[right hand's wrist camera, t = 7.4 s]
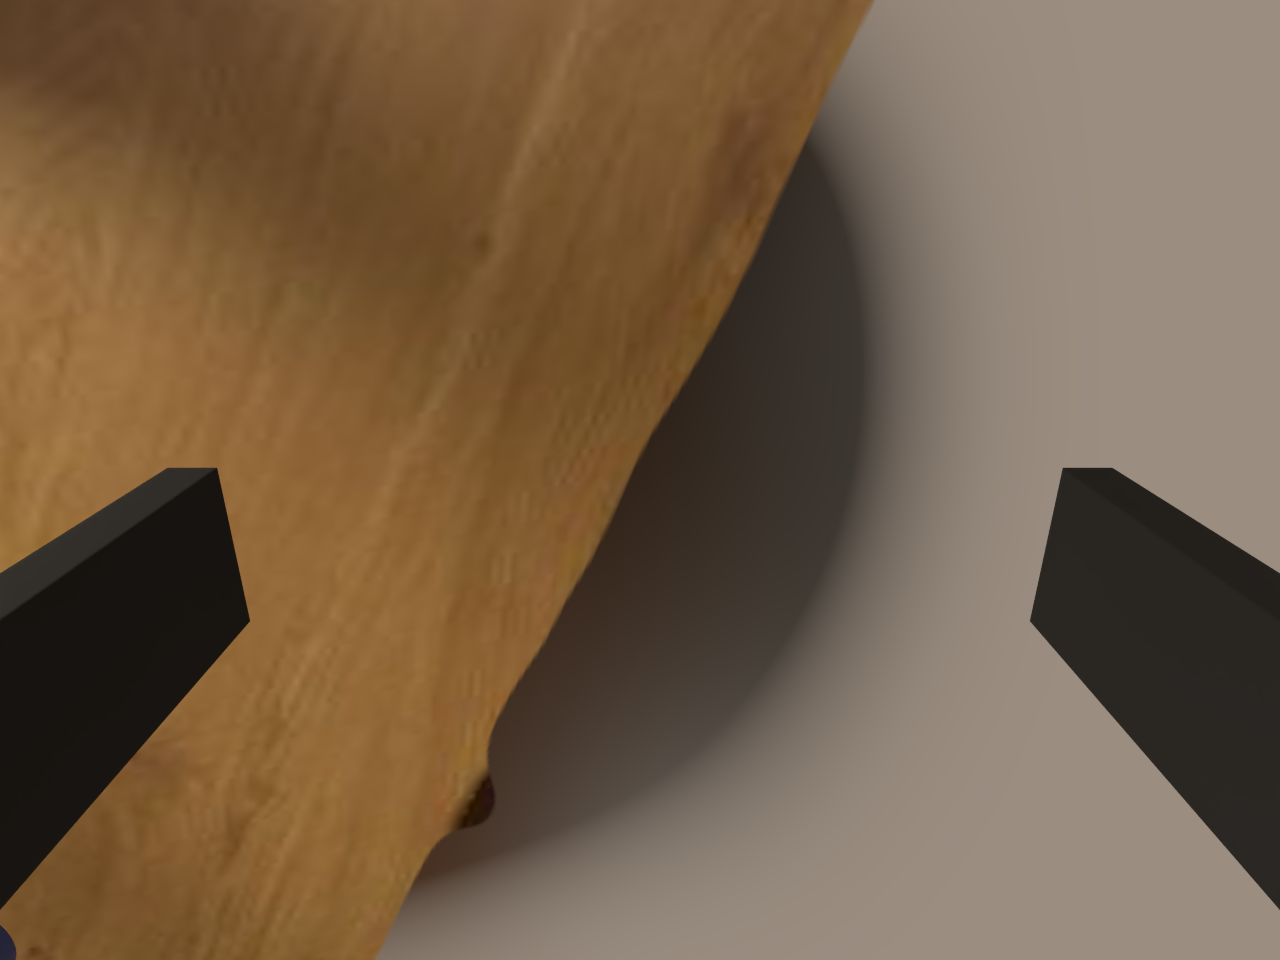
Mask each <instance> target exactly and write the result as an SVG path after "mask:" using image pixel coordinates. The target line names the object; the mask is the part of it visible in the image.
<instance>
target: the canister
mask: <svg viewBox="0 0 1280 960" xmlns="http://www.w3.org/2000/svg"><path fill="white" fill-rule="evenodd" d="M15 959H16V948H15V945H14V942H13V940H12V938H11V937H10V935H9V934H8V933H7V932H6V930H5V929H4V928H3V927H2V926H0V960H15Z"/></svg>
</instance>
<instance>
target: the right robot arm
mask: <svg viewBox="0 0 1280 960" xmlns="http://www.w3.org/2000/svg"><path fill="white" fill-rule="evenodd" d="M249 622H250V619H249V614H248V609H247V605H246V600H245V595H244V591H243V586H242V581H241V577H240V572H239V568H238V563H237V558H236V554H235V549H234V544H233V540H232V535H231V530H230V526H229V521H228V516H227V512H226V507H225V502H224V498H223V493H222V489H221V484H220V479H219V475H218V470H217V468H167V469H165V470H164V471H162V472H160V473H159V474H157V475H156V476H154V477H152V478H151V479H149V480H148V481H146V482H145V483H143V484H141V485H140V486H138V487H137V488H135V489H133V490H132V491H130V492H129V493H127V494H125V495H124V496H122V497H121V498H119V499H118V500H116V501H114V502H113V503H111V504H110V505H108V506H106V507H105V508H103V509H102V510H100V511H98V512H97V513H95V514H94V515H92V516H91V517H89V518H87V519H86V520H84V521H83V522H81V523H79V524H78V525H76V526H75V527H73V528H71V529H70V530H68V531H67V532H65V533H64V534H62V535H60V536H59V537H57V538H56V539H54V540H52V541H51V542H49V543H48V544H46V545H45V546H43V547H41V548H40V549H38V550H37V551H35V552H33V553H32V554H30V555H29V556H27V557H25V558H24V559H22V560H21V561H19V562H18V563H16V564H14V565H13V566H11V567H10V568H8V569H6V570H5V571H3V572H2V573H0V909H1V908H2V907H3V906H4V905H5V904H6V902H7V901H8V900H9V899H10V898H11V897H12V896H13V894H14V893H15V892H16V891H17V890H18V889H19V887H20V886H21V885H22V884H23V883H24V882H25V881H26V879H27V878H28V877H29V876H30V875H31V874H32V872H33V871H34V870H35V869H36V868H37V867H38V865H39V864H40V863H41V862H42V861H43V860H44V859H45V857H46V856H47V855H48V854H49V853H50V852H51V850H52V849H53V848H54V847H55V846H56V845H57V844H58V842H59V841H60V840H61V839H62V838H63V837H64V835H65V834H66V833H67V832H68V831H69V830H70V829H71V827H72V826H73V825H74V824H75V823H76V822H77V820H78V819H79V818H80V817H81V816H82V815H83V813H84V812H85V811H86V810H87V809H88V808H89V807H90V805H91V804H92V803H93V802H94V801H95V800H96V798H97V797H98V796H99V795H100V794H101V793H102V792H103V790H104V789H105V788H106V787H107V786H108V785H109V783H110V782H111V781H112V780H113V779H114V778H115V777H116V775H117V774H118V773H119V772H120V771H121V770H122V768H123V767H124V766H125V765H126V764H127V763H128V761H129V760H130V759H131V758H132V757H133V756H134V755H135V753H136V752H137V751H138V750H139V749H140V748H141V746H142V745H143V744H144V743H145V742H146V741H147V740H148V738H149V737H150V736H151V735H152V734H153V733H154V731H155V730H156V729H157V728H158V727H159V726H160V725H161V723H162V722H163V721H164V720H165V719H166V718H167V716H168V715H169V714H170V713H171V712H172V711H173V709H174V708H175V707H176V706H177V705H178V704H179V703H180V701H181V700H182V699H183V698H184V697H185V696H186V694H187V693H188V692H189V691H190V690H191V689H192V688H193V686H194V685H195V684H196V683H197V682H198V681H199V679H200V678H201V677H202V676H203V675H204V674H205V673H206V671H207V670H208V669H209V668H210V667H211V666H212V664H213V663H214V662H215V661H216V660H217V659H218V657H219V656H220V655H221V654H222V653H223V652H224V651H225V649H226V648H227V647H228V646H229V645H230V644H231V642H232V641H233V640H234V639H235V638H236V637H237V636H238V634H239V633H240V632H241V631H242V630H243V629H244V627H245V626H246V625H247V624H248V623H249ZM1030 622H1031V623H1032V624H1033V625H1034V626H1035V627H1036V629H1037V630H1038V631H1039V632H1040V633H1041V634H1042V636H1043V637H1044V638H1045V639H1046V640H1047V641H1048V642H1049V644H1050V645H1051V646H1052V647H1053V648H1054V649H1055V651H1056V652H1057V653H1058V654H1059V655H1060V656H1061V657H1062V659H1063V660H1064V661H1065V662H1066V663H1067V664H1068V666H1069V667H1070V668H1071V669H1072V670H1073V671H1074V673H1075V674H1076V675H1077V676H1078V677H1079V678H1080V679H1081V681H1082V682H1083V683H1084V684H1085V685H1086V686H1087V688H1088V689H1089V690H1090V691H1091V692H1092V693H1093V694H1094V696H1095V697H1096V698H1097V699H1098V700H1099V701H1100V703H1101V704H1102V705H1103V706H1104V707H1105V708H1106V709H1107V711H1108V712H1109V713H1110V714H1111V715H1112V716H1113V718H1114V719H1115V720H1116V721H1117V722H1118V723H1119V724H1120V726H1121V727H1122V728H1123V729H1124V730H1125V731H1126V733H1127V734H1128V735H1129V736H1130V737H1131V738H1132V739H1133V741H1134V742H1135V743H1136V744H1137V745H1138V746H1139V748H1140V749H1141V750H1142V751H1143V752H1144V753H1145V755H1146V756H1147V757H1148V758H1149V759H1150V760H1151V761H1152V763H1153V764H1154V765H1155V766H1156V767H1157V768H1158V770H1159V771H1160V772H1161V773H1162V774H1163V775H1164V776H1165V778H1166V779H1167V780H1168V781H1169V782H1170V783H1171V785H1172V786H1173V787H1174V788H1175V789H1176V790H1177V791H1178V793H1179V794H1180V795H1181V796H1182V797H1183V798H1184V800H1185V801H1186V802H1187V803H1188V804H1189V805H1190V807H1191V808H1192V809H1193V810H1194V811H1195V812H1196V813H1197V815H1198V816H1199V817H1200V818H1201V819H1202V820H1203V822H1204V823H1205V824H1206V825H1207V826H1208V827H1209V829H1210V830H1211V831H1212V832H1213V833H1214V834H1215V835H1216V837H1217V838H1218V839H1219V840H1220V841H1221V842H1222V843H1223V845H1224V846H1225V847H1226V848H1227V849H1228V850H1229V852H1230V853H1231V854H1232V855H1233V856H1234V857H1235V859H1236V860H1237V861H1238V862H1239V863H1240V864H1241V865H1242V867H1243V868H1244V869H1245V870H1246V871H1247V872H1248V874H1249V875H1250V876H1251V877H1252V878H1253V879H1254V881H1255V882H1256V883H1257V884H1258V885H1259V886H1260V887H1261V889H1262V890H1263V891H1264V892H1265V893H1266V894H1267V896H1268V897H1269V898H1270V899H1271V900H1272V901H1273V902H1274V904H1275V905H1276V906H1277V907H1278V908H1279V909H1280V573H1278V572H1277V571H1275V570H1274V569H1272V568H1270V567H1269V566H1267V565H1266V564H1264V563H1262V562H1261V561H1259V560H1258V559H1256V558H1255V557H1253V556H1251V555H1250V554H1248V553H1247V552H1245V551H1243V550H1242V549H1240V548H1239V547H1237V546H1235V545H1234V544H1232V543H1231V542H1229V541H1227V540H1226V539H1224V538H1223V537H1221V536H1220V535H1218V534H1216V533H1215V532H1213V531H1212V530H1210V529H1208V528H1207V527H1205V526H1204V525H1202V524H1201V523H1199V522H1197V521H1196V520H1194V519H1193V518H1191V517H1189V516H1188V515H1186V514H1185V513H1183V512H1182V511H1180V510H1178V509H1177V508H1175V507H1174V506H1172V505H1170V504H1169V503H1167V502H1166V501H1164V500H1162V499H1161V498H1159V497H1158V496H1156V495H1155V494H1153V493H1151V492H1150V491H1148V490H1147V489H1145V488H1143V487H1142V486H1140V485H1139V484H1137V483H1135V482H1134V481H1132V480H1131V479H1129V478H1127V477H1126V476H1124V475H1123V474H1121V473H1120V472H1118V471H1116V470H1115V469H1113V468H1063V470H1062V475H1061V479H1060V484H1059V489H1058V493H1057V498H1056V502H1055V507H1054V512H1053V516H1052V521H1051V526H1050V530H1049V535H1048V540H1047V545H1046V549H1045V554H1044V558H1043V563H1042V568H1041V572H1040V577H1039V581H1038V586H1037V591H1036V596H1035V600H1034V605H1033V610H1032V614H1031V619H1030Z"/></svg>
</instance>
